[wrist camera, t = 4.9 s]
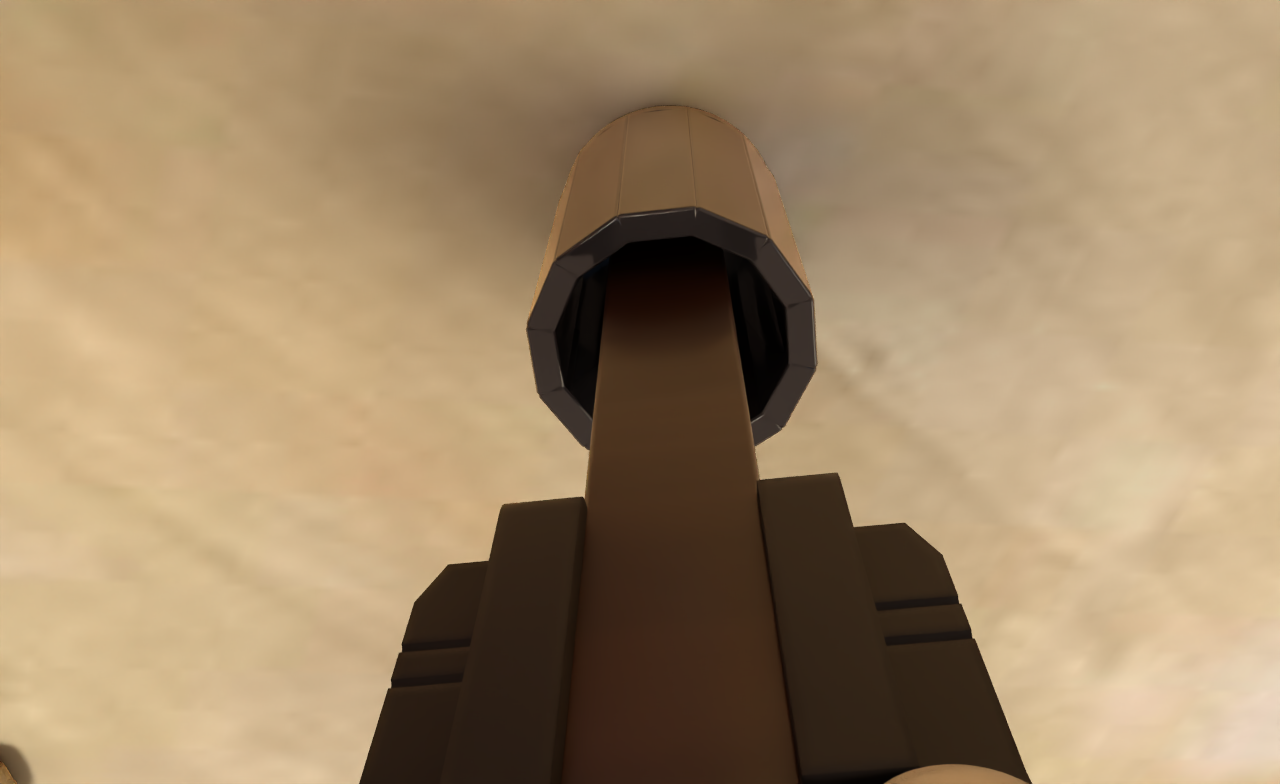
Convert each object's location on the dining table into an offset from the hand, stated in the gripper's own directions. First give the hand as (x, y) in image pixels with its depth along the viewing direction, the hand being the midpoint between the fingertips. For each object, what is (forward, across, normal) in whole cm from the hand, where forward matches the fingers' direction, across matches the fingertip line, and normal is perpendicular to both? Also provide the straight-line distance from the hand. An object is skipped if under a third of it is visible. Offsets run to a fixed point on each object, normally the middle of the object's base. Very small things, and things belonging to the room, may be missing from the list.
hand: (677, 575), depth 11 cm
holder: (+11, 0, 0) cm, 11 cm away
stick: (+9, 0, 0) cm, 9 cm away
